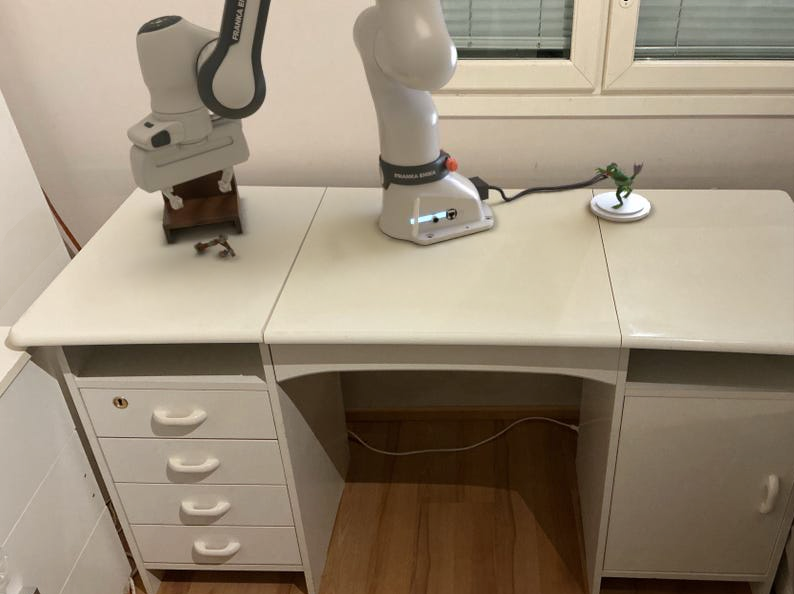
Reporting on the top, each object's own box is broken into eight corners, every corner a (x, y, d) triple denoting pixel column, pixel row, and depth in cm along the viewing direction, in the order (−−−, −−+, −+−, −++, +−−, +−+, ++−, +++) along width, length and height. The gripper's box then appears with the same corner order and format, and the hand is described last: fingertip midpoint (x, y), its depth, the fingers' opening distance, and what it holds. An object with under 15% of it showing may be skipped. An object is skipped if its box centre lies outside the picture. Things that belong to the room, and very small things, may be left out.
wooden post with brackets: (235, 257, 140) (222, 235, 138) (206, 266, 144) (192, 245, 142) (241, 252, 142) (227, 231, 140) (211, 261, 146) (198, 240, 144)
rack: (240, 199, 162) (230, 153, 156) (243, 233, 150) (232, 185, 144) (170, 208, 159) (157, 162, 153) (167, 244, 147) (153, 195, 141)
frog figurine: (579, 202, 159) (582, 154, 152) (628, 191, 163) (633, 144, 156) (610, 226, 150) (615, 177, 144) (661, 214, 154) (668, 165, 148)
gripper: (228, 102, 136) (243, 176, 144) (116, 133, 124) (140, 212, 132) (248, 111, 132) (262, 186, 141) (135, 144, 121) (157, 223, 129)
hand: (202, 199), depth 136 cm, fingers open, 8 cm apart
